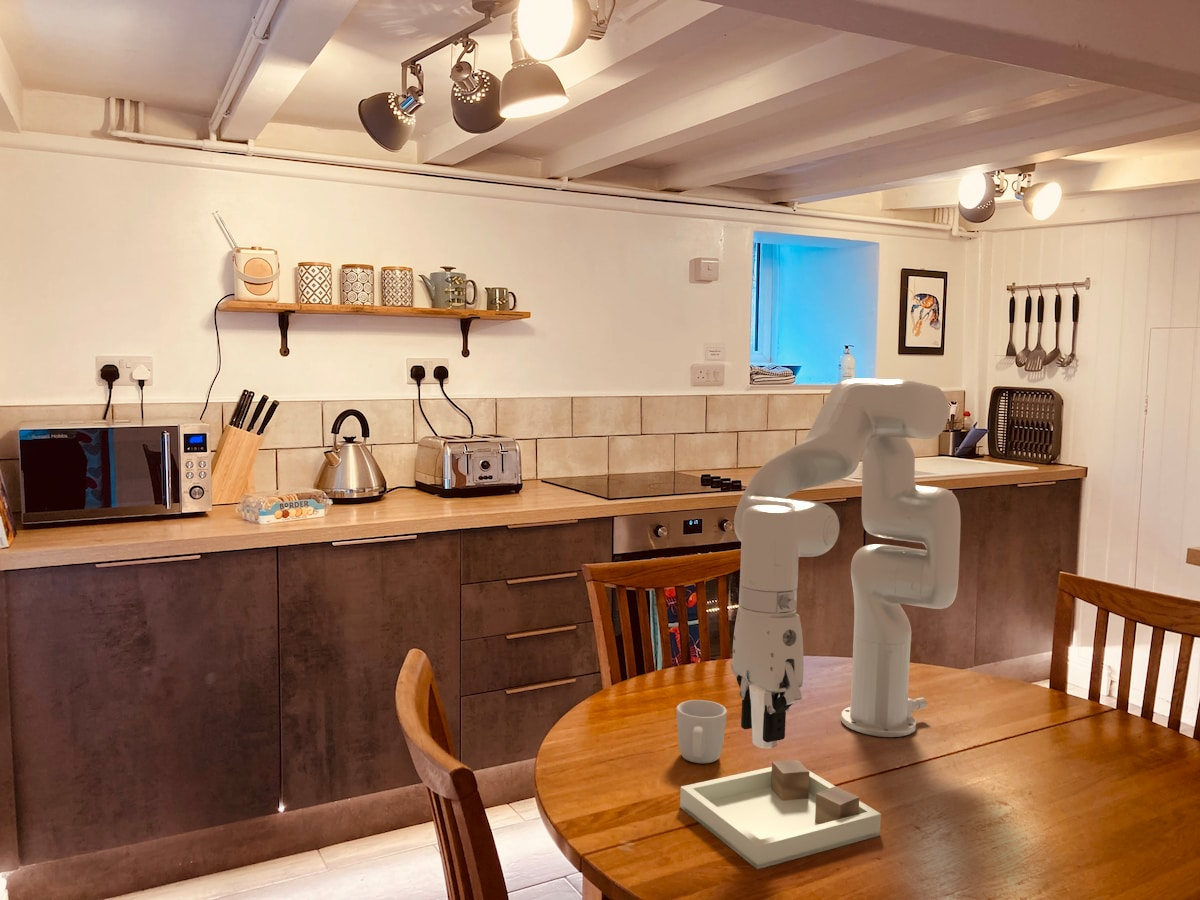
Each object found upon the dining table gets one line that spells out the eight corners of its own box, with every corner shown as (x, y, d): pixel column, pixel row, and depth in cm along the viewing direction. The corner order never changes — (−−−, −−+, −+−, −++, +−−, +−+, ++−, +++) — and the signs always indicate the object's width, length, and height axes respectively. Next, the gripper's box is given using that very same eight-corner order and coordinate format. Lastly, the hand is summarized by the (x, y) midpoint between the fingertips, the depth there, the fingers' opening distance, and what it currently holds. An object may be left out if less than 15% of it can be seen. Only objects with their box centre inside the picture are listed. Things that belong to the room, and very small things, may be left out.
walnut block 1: (796, 786, 138) (797, 759, 137) (808, 798, 134) (809, 771, 133) (771, 788, 137) (772, 761, 136) (781, 800, 133) (783, 773, 133)
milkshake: (738, 738, 128) (739, 666, 127) (776, 737, 128) (778, 665, 128) (746, 751, 123) (747, 676, 123) (786, 750, 124) (787, 675, 123)
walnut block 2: (834, 814, 129) (835, 786, 129) (858, 825, 126) (859, 797, 126) (815, 822, 127) (816, 793, 126) (838, 834, 124) (840, 805, 123)
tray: (793, 781, 141) (794, 761, 140) (880, 835, 125) (881, 813, 125) (680, 807, 132) (680, 786, 131) (757, 869, 116) (758, 846, 115)
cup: (722, 778, 141) (724, 726, 141) (669, 772, 143) (671, 721, 142) (727, 750, 152) (728, 701, 151) (678, 745, 153) (679, 697, 153)
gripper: (832, 611, 118) (826, 752, 120) (753, 583, 133) (748, 709, 135) (784, 617, 115) (779, 762, 117) (708, 588, 130) (704, 716, 131)
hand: (762, 732), depth 126 cm, fingers closed on milkshake, 4 cm apart
